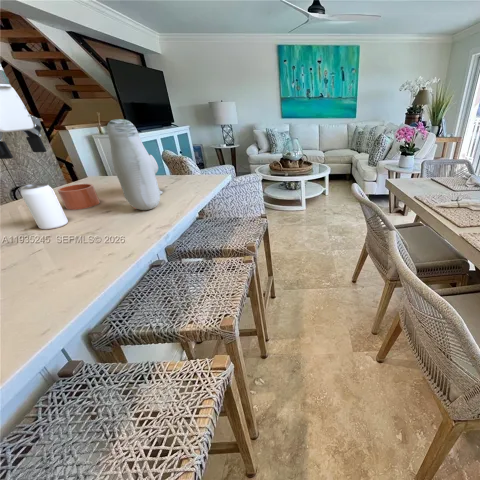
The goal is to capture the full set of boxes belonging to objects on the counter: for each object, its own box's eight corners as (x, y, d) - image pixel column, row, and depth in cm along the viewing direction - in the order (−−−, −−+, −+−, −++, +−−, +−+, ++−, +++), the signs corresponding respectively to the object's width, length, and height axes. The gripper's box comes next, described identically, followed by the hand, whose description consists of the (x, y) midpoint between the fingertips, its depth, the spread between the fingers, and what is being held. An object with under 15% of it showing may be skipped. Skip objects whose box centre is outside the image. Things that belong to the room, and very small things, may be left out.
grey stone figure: (169, 206, 92) (145, 118, 79) (138, 216, 84) (106, 120, 71) (154, 201, 97) (129, 117, 84) (124, 210, 89) (91, 119, 76)
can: (46, 222, 80) (25, 183, 74) (72, 220, 82) (54, 181, 76) (34, 231, 74) (11, 190, 69) (63, 228, 76) (43, 187, 71)
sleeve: (75, 213, 86) (66, 193, 83) (61, 209, 90) (51, 189, 87) (106, 205, 94) (98, 185, 90) (92, 201, 97) (84, 182, 94)
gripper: (5, 82, 69) (38, 150, 77) (-79, 76, 54) (-28, 161, 62) (35, 82, 70) (64, 149, 78) (-40, 76, 54) (6, 161, 62)
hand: (24, 155), depth 70 cm, fingers open, 9 cm apart
